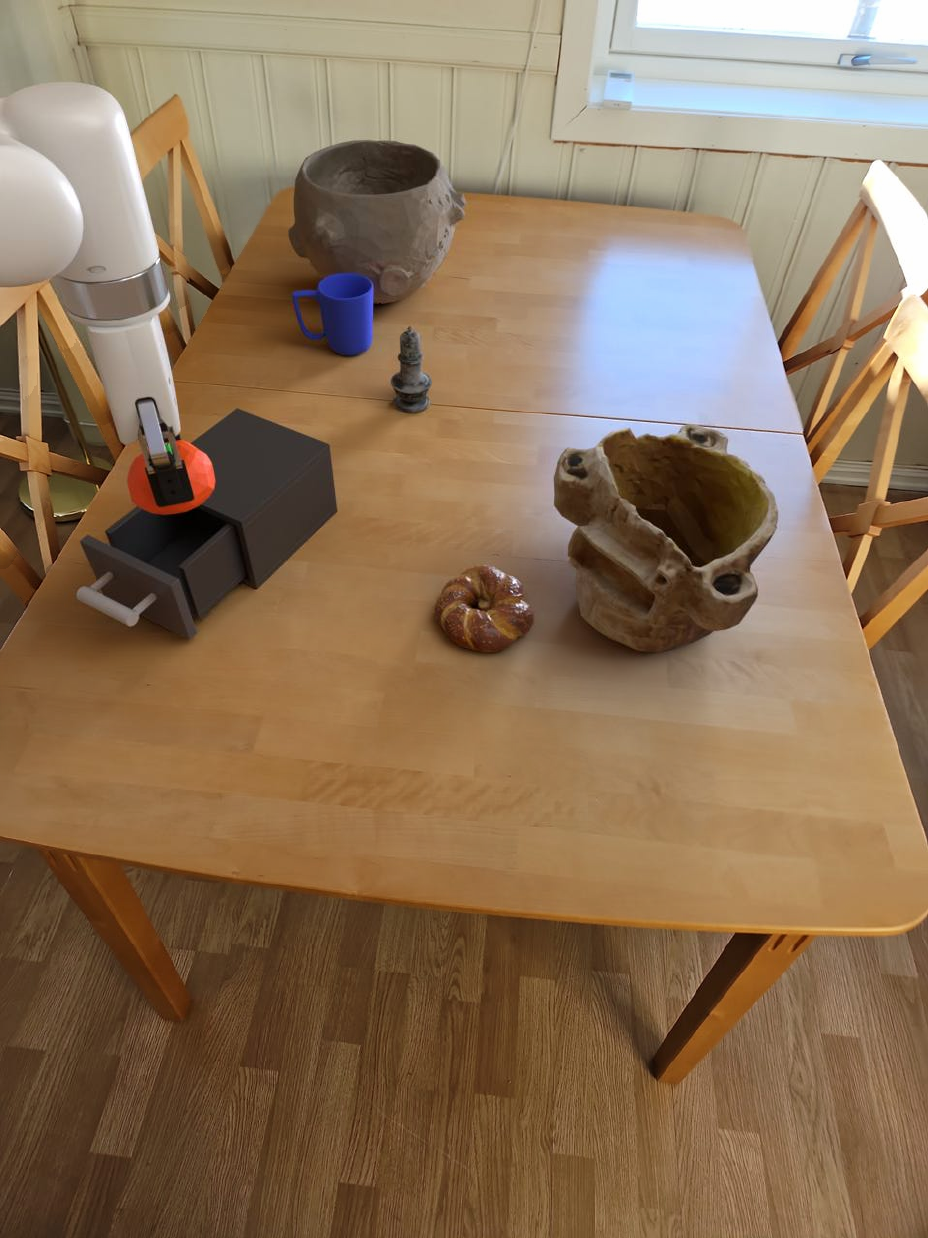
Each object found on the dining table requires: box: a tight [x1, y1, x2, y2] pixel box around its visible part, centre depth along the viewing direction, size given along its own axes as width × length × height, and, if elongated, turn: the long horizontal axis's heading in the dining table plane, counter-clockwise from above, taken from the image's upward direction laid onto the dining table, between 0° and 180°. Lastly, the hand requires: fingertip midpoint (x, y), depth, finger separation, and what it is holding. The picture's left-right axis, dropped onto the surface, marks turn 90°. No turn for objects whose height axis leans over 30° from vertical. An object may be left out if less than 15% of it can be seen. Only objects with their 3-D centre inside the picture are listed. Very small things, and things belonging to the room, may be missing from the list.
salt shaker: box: [390, 325, 433, 414], centre depth 115 cm, size 6×6×12 cm
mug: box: [291, 273, 374, 356], centre depth 125 cm, size 8×12×10 cm
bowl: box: [287, 139, 467, 305], centre depth 134 cm, size 27×29×20 cm
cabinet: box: [189, 407, 338, 590], centre depth 97 cm, size 16×14×10 cm
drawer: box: [76, 505, 248, 641], centre depth 89 cm, size 19×13×8 cm, turn 150°
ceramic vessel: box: [553, 423, 779, 654], centre depth 85 cm, size 23×24×25 cm
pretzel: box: [434, 564, 535, 653], centre depth 91 cm, size 12×11×4 cm
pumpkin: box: [126, 439, 215, 515], centre depth 73 cm, size 7×8×6 cm
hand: (169, 473), depth 74 cm, fingers closed on pumpkin, 7 cm apart
